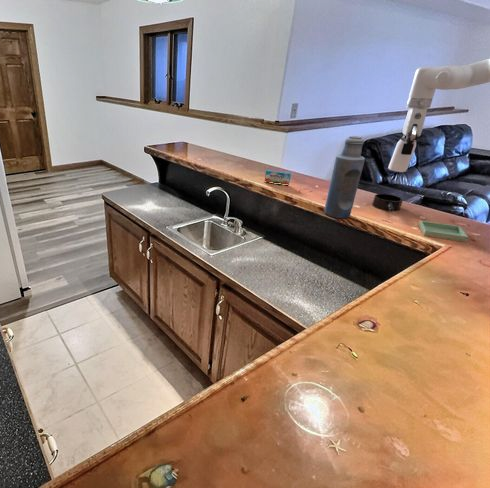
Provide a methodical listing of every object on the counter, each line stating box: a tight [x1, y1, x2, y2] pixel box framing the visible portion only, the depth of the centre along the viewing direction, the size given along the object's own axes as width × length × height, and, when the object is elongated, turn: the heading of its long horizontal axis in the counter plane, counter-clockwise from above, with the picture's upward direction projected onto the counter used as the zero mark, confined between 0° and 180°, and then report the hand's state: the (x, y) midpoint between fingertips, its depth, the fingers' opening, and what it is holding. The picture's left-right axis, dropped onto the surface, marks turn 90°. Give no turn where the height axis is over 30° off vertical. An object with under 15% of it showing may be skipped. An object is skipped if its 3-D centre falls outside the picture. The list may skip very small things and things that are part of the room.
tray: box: [418, 220, 469, 243], centre depth 123 cm, size 12×10×2 cm
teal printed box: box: [264, 169, 292, 186], centre depth 174 cm, size 12×2×6 cm, turn 60°
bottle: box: [323, 135, 366, 219], centre depth 132 cm, size 10×10×30 cm
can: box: [387, 137, 417, 173], centre depth 138 cm, size 6×6×12 cm
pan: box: [371, 193, 404, 212], centre depth 143 cm, size 10×19×4 cm, turn 156°
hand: (404, 152), depth 137 cm, fingers closed on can, 6 cm apart
